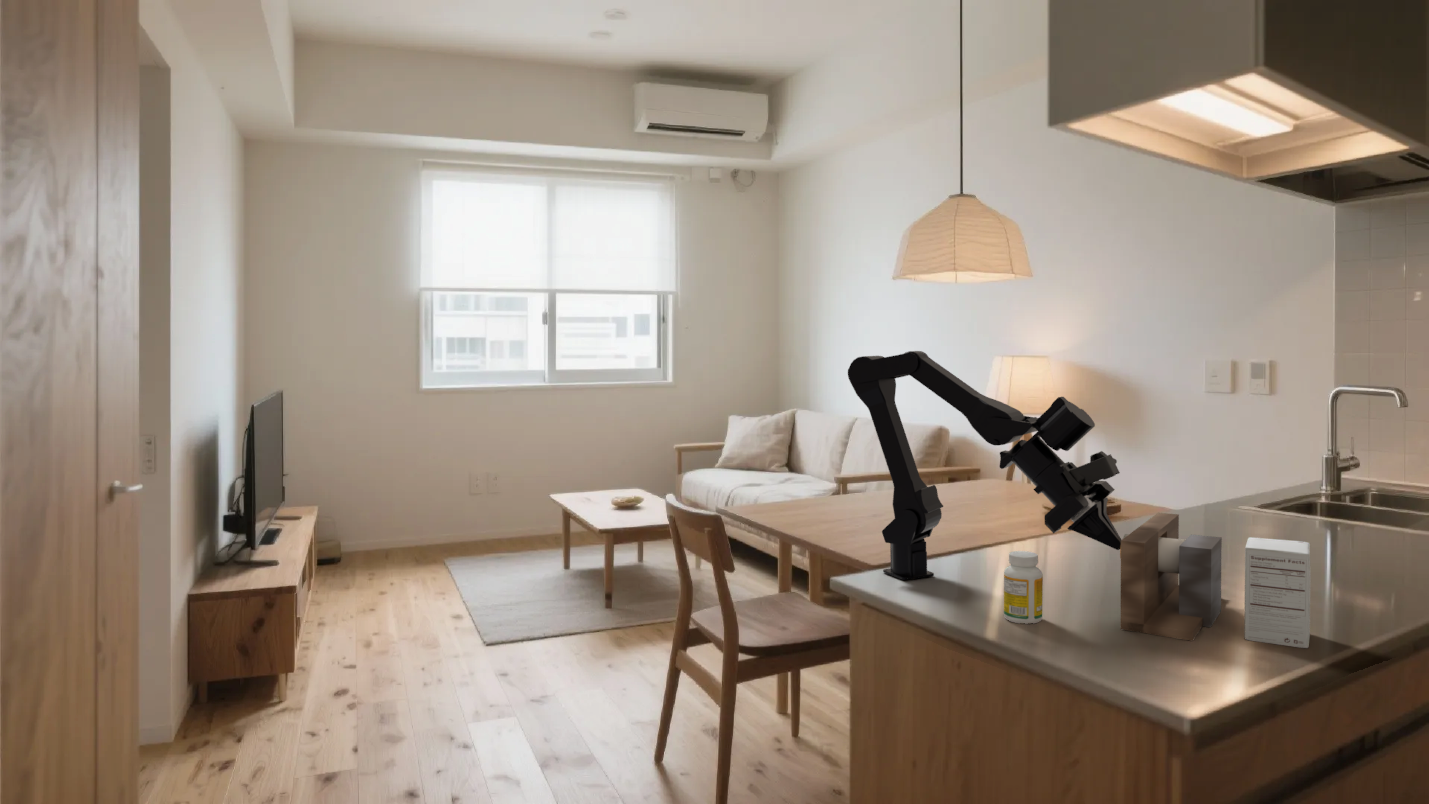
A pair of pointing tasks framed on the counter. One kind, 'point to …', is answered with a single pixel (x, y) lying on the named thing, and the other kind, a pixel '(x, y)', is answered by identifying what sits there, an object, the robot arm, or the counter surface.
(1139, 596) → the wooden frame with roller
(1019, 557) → the supplement bottle
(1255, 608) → the supplement box
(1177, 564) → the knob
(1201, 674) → the counter surface
